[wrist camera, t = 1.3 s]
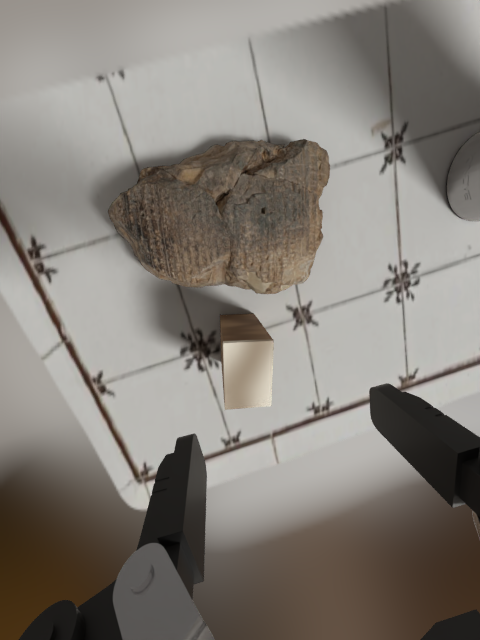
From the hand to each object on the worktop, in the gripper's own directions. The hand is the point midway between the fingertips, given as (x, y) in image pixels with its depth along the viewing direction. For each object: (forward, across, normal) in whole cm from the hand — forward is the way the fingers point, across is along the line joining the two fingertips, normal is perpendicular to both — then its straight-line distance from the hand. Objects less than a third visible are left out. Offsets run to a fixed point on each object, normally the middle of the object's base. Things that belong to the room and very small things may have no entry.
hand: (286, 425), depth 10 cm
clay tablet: (+18, 0, -11) cm, 21 cm away
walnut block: (+17, +1, +2) cm, 17 cm away
